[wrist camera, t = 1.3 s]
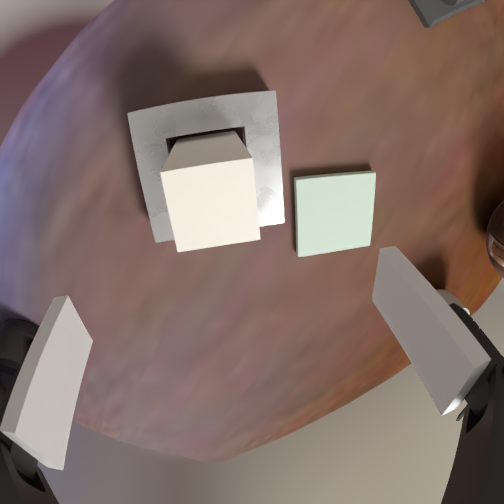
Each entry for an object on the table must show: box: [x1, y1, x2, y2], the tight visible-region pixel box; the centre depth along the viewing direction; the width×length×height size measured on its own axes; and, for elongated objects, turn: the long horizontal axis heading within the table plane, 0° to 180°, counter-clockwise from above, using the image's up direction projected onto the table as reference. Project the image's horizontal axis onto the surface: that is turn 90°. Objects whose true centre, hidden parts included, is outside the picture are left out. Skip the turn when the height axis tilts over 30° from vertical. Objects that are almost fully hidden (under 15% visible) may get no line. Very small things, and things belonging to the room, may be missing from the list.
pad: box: [294, 171, 376, 257], centre depth 36 cm, size 10×10×1 cm
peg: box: [160, 131, 260, 252], centre depth 26 cm, size 6×6×13 cm
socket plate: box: [127, 90, 285, 243], centre depth 30 cm, size 14×14×3 cm
